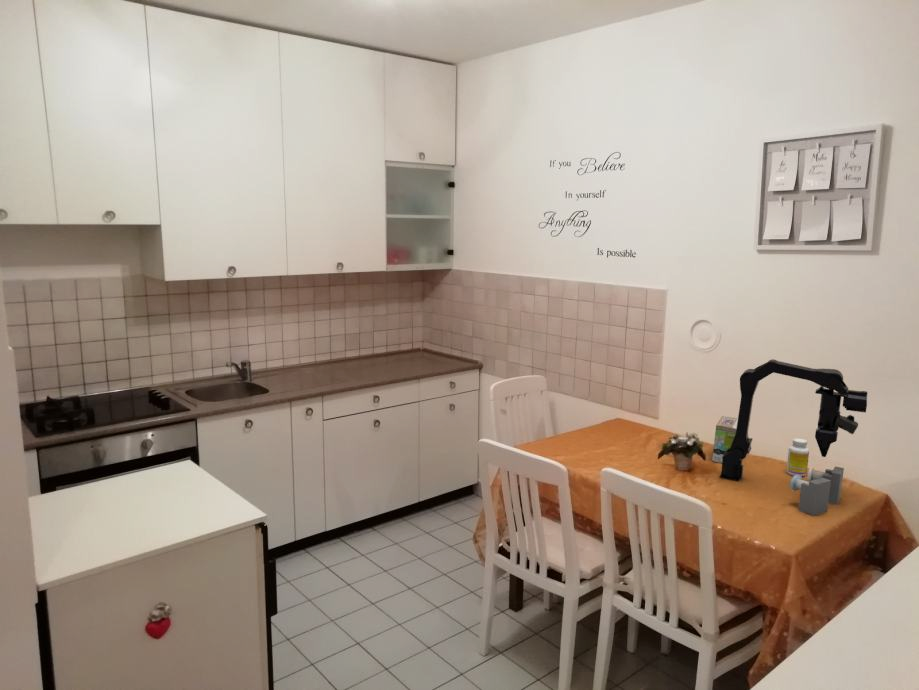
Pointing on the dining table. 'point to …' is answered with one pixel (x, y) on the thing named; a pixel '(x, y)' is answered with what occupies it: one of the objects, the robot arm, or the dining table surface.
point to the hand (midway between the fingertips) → (824, 452)
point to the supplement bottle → (798, 458)
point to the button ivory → (814, 474)
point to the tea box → (724, 437)
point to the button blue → (796, 482)
